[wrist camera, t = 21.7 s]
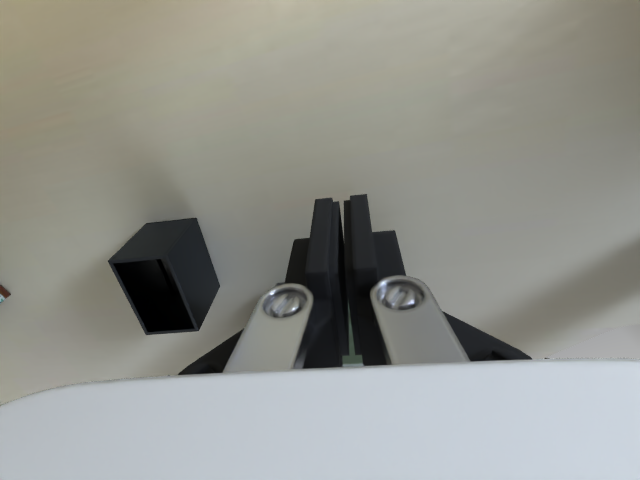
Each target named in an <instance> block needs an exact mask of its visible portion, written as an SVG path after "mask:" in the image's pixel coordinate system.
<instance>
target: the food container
mask: <svg viewBox="0 0 640 480" xmlns="http://www.w3.org/2000/svg"><path fill="white" fill-rule="evenodd" d="M10 295H11V294H10V293H9V292H8V291H7V290H6V289H5V288H3V287H2V286H1V285H0V303H1V302H3V301H4V300H5V299H6V298H7V297H8V296H10Z"/></svg>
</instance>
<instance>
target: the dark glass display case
mask: <svg viewBox="0 0 640 480" xmlns="http://www.w3.org/2000/svg"><path fill="white" fill-rule="evenodd" d="M108 262H109V264H110V266H111V268H112V270H113V272H114V274H115V276H116V278H117V280H118V282H119V284H120V286H121V288H122V289H123V291H124V293H125V295H126V297H127V299H128V301H129V303H130V305H131V307H132V309H133V311H134V313H135V315H136V317H137V318H138V320H139V322H140V324H141V326H142V328H143V330H144V332H145V334H146V335H152V334H166V333H180V332H193V331H199V330H200V328H201V326H202V323H203V321H204V319H205V317H206V315H207V313H208V311H209V309H210V306H211V304H212V302H213V300H214V298H215V296H216V294H217V292H218V289H219V287H220V285H219V282H218V279H217V276H216V273H215V270H214V267H213V264H212V262H211V259H210V256H209V253H208V250H207V247H206V244H205V241H204V238H203V235H202V233H201V230H200V227H199V224H198V221H197V218H191V219H182V220H172V221H163V222H154V223H146V224H145V225H144V226H143V227H142V228H141V229H140V230H139V231H138V232H137V233H136V234H135V235H134V236H133V237H132V238H131V239H130V240H129V241H128V242H127V243H126V244H125V245H124V246H123V247H122V248H121V249H120V250H119V251H118V252H117V253H115V254H114V255H113V256H112V257H111V258H110V259H109V260H108Z"/></svg>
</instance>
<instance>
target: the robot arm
mask: <svg viewBox="0 0 640 480" xmlns="http://www.w3.org/2000/svg"><path fill="white" fill-rule="evenodd" d="M348 302H349V309H348ZM349 310H350V318H351V326H352V334H353V341H354V349H355V355H362V361H363V365H364V366H356V367H343V356H349ZM0 480H640V359H632V358H556V359H550V358H545V359H532V358H531V357H530V356H528V355H526V354H525V353H523V352H522V351H520V350H518V349H516V348H514V347H512V346H510V345H508V344H506V343H504V342H502V341H500V340H498V339H496V338H494V337H493V336H491V335H489V334H487V333H485V332H483V331H481V330H479V329H477V328H475V327H473V326H471V325H469V324H467V323H465V322H463V321H461V320H459V319H457V318H455V317H453V316H451V315H449V314H447V313H445V312H443V311H442V310H441V308H440V307H439V305H438V303H437V301H436V299H435V298H434V296H433V294H432V292H431V291H430V289H429V288H428V287H427V285H426V284H425V283H423V282H422V281H420V280H419V279H416V278H413V277H410V276H406V274H405V270H404V265H403V261H402V257H401V253H400V249H399V245H398V241H397V237H396V233H395V231H394V230H393V231H382V232H372V229H371V222H370V214H369V207H368V200H367V194H363V195H353V196H350V200H347V201H344V238H343V230H342V222H341V214H340V206H339V201H338V202H333V200H332V198H324V199H315V205H314V212H313V219H312V226H311V232H310V238H304V239H295V240H294V242H293V247H292V251H291V256H290V260H289V265H288V270H287V274H286V279H285V284H282V285H279V286H276V287H274V288H272V289H270V290H268V291H267V292H266V293H264V294H263V295H262V296H261V298H260V299H259V301H258V302H257V304H256V306H255V308H254V310H253V312H252V314H251V316H250V318H249V320H248V322H247V324H246V326H245V328H244V329H242V330H241V331H239V332H238V333H237V334H235V335H234V336H232V337H231V338H229V339H228V340H226V341H225V342H223V343H222V344H220V345H219V346H217V347H216V348H214V349H213V350H211V351H210V352H208V353H207V354H205V355H204V356H202V357H201V358H199V359H198V360H196V361H195V362H193V363H192V364H190V365H189V366H187V367H186V368H185V369H184V370H183V371H181V372H180V373H179V374H178V375H174V376H170V375H168V376H156V377H138V378H126V379H114V380H103V381H92V382H83V383H77V384H71V385H64V386H59V387H55V388H51V389H48V390H44V391H40V392H36V393H32V394H29V395H27V396H24V397H21V398H18V399H15V400H13V401H10V402H7V403H5V404H2V405H0Z"/></svg>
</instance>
